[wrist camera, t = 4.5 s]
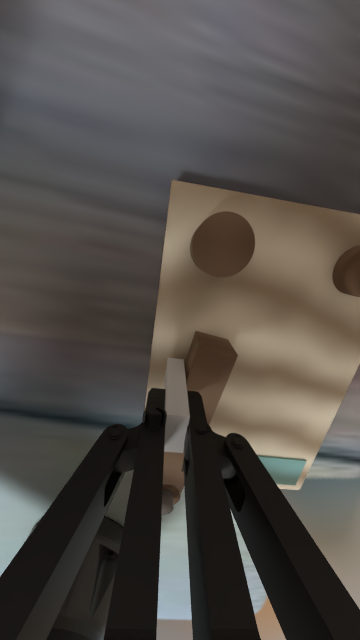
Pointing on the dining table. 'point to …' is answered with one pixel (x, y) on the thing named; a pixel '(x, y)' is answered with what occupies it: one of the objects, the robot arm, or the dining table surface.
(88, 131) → the dining table surface
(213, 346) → the folding leg
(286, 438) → the stool seat
